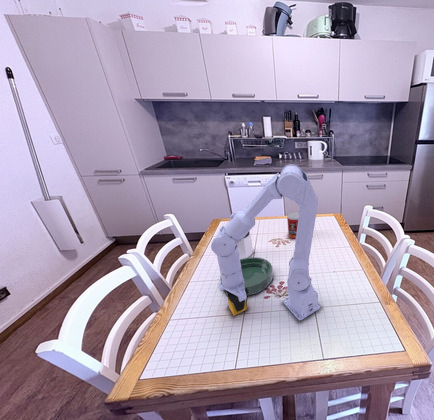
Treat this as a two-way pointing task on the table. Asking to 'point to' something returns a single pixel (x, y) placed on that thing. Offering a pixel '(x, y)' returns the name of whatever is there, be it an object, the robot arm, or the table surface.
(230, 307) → the yellow cube
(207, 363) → the table surface
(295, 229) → the canned food
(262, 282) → the bowl
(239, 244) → the jar
